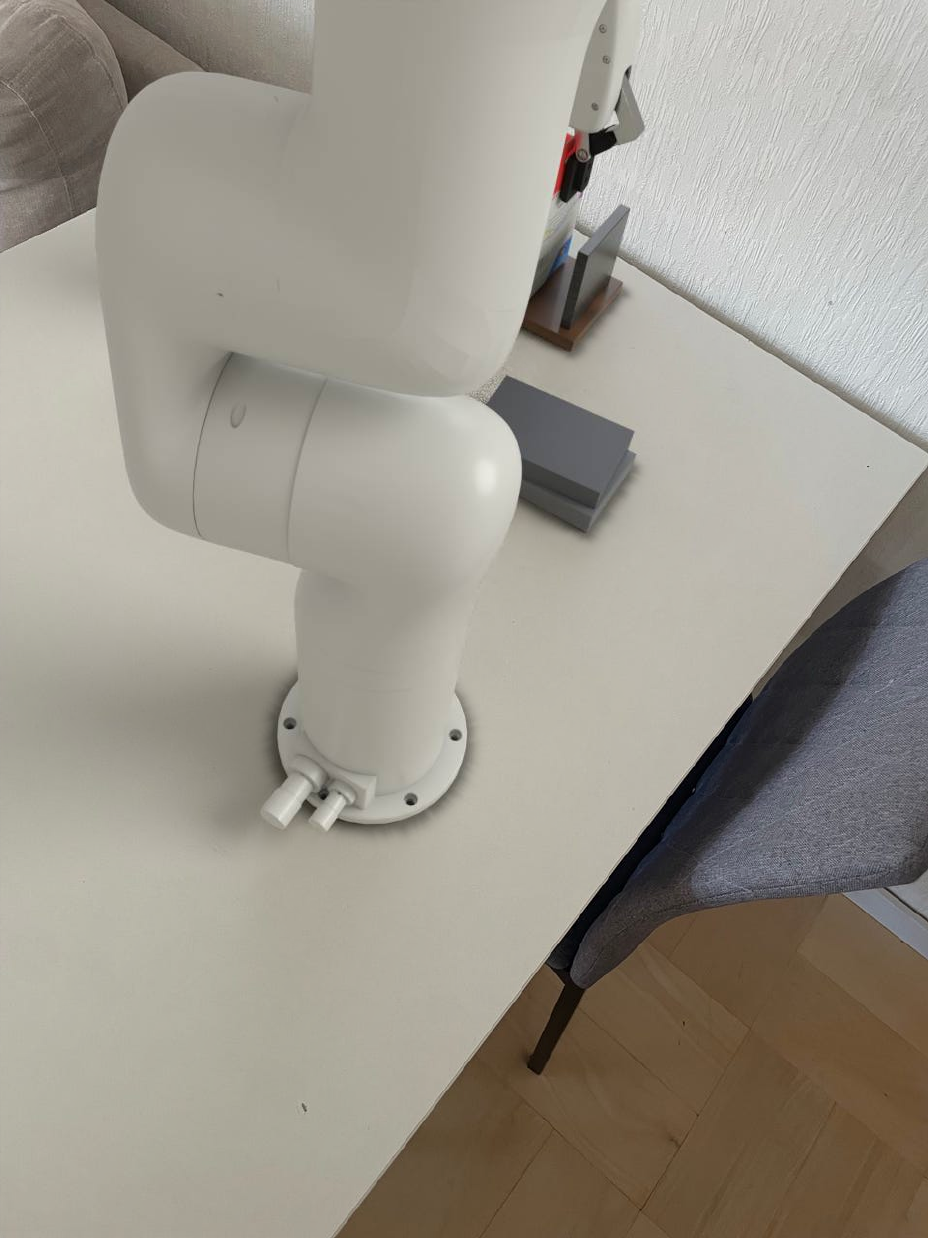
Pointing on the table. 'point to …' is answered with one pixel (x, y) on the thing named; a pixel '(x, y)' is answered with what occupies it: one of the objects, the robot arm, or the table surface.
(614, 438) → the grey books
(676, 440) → the table surface
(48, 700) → the table surface
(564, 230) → the ink box
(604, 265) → the book rack
